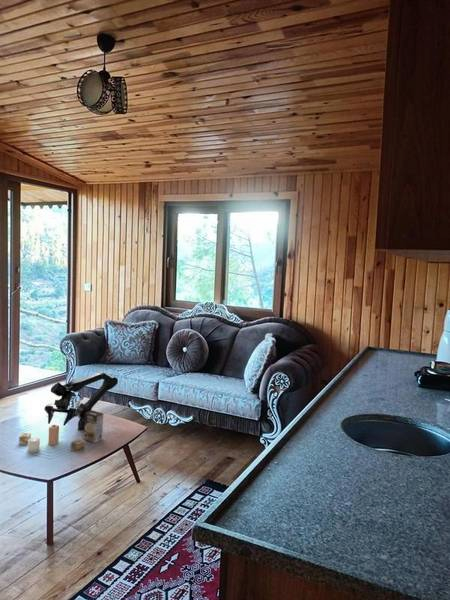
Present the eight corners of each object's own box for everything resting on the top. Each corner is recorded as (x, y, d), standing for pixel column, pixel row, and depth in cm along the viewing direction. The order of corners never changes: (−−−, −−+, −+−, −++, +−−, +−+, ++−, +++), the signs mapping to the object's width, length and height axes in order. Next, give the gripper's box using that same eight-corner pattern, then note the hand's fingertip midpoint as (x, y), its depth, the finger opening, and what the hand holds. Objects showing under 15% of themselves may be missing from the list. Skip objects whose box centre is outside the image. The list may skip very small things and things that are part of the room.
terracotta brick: (58, 442, 257) (59, 424, 256) (55, 445, 253) (55, 426, 252) (51, 441, 258) (52, 423, 257) (48, 444, 254) (49, 426, 253)
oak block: (30, 440, 258) (30, 433, 257) (28, 444, 253) (28, 436, 252) (21, 440, 257) (21, 433, 256) (18, 444, 252) (19, 436, 252)
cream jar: (41, 448, 248) (41, 438, 247) (36, 453, 242) (36, 442, 241) (31, 447, 248) (31, 437, 248) (25, 452, 242) (25, 441, 242)
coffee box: (83, 439, 264) (84, 412, 262) (90, 435, 270) (91, 409, 268) (95, 442, 260) (96, 416, 259) (102, 439, 266) (103, 413, 264)
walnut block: (84, 448, 251) (84, 441, 251) (77, 452, 247) (78, 444, 247) (77, 446, 254) (77, 439, 253) (70, 450, 249) (71, 442, 249)
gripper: (46, 392, 262) (35, 416, 252) (76, 395, 261) (67, 419, 251) (52, 401, 271) (42, 425, 261) (81, 404, 269) (73, 428, 259)
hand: (56, 424), depth 258 cm, fingers open, 9 cm apart
